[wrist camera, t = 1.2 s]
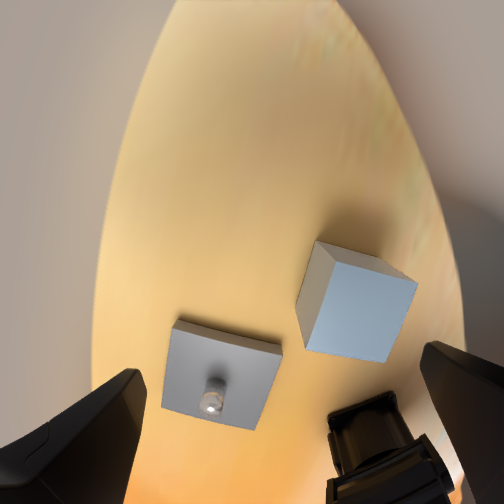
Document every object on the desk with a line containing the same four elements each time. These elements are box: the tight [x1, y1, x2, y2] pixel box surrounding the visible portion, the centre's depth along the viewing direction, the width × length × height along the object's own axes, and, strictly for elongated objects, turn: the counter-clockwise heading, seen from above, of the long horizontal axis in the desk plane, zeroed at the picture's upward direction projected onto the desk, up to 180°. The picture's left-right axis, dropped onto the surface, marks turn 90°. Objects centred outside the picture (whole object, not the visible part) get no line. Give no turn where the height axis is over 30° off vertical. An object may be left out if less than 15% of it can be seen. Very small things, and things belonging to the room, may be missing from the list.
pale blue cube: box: [295, 241, 418, 363], centre depth 18 cm, size 5×5×6 cm
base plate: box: [161, 319, 283, 430], centre depth 21 cm, size 8×8×4 cm
